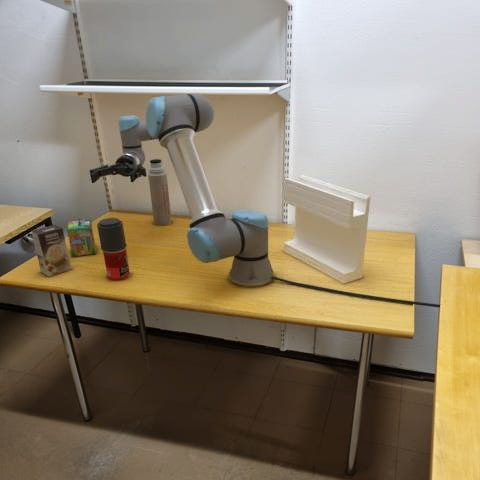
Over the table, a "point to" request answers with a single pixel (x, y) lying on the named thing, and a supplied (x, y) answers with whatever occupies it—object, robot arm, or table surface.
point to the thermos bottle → (159, 193)
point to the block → (328, 227)
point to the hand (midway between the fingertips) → (111, 178)
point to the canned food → (117, 264)
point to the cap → (111, 235)
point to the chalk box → (81, 237)
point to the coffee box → (51, 250)
